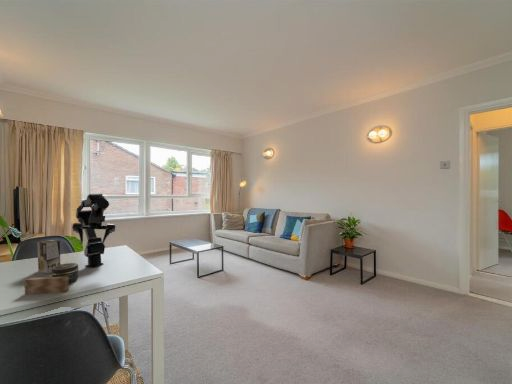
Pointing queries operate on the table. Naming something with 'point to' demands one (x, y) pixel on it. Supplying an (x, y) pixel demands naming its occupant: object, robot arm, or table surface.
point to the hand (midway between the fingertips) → (92, 243)
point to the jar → (66, 271)
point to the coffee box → (48, 255)
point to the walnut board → (46, 285)
